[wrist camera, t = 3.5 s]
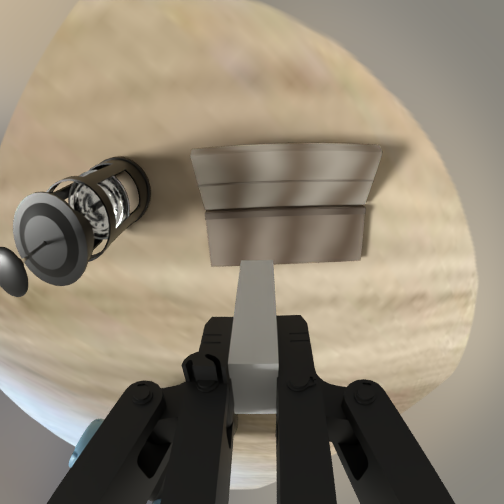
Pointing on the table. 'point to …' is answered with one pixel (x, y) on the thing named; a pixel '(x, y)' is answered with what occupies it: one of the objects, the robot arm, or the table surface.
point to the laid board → (285, 234)
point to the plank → (285, 174)
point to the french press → (71, 225)
